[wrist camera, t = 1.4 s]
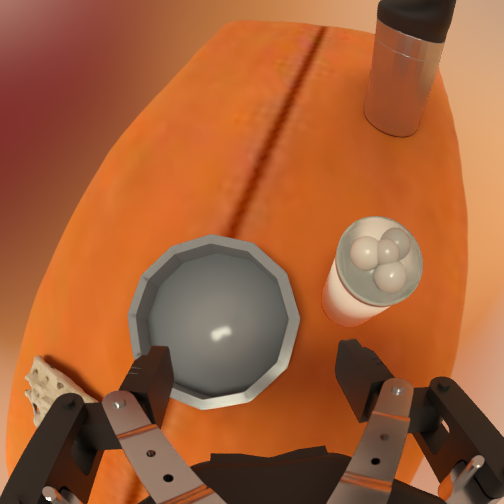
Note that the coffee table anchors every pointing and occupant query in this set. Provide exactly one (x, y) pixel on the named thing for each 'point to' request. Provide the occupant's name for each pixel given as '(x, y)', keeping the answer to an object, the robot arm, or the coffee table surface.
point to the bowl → (216, 319)
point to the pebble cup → (371, 271)
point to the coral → (49, 388)
